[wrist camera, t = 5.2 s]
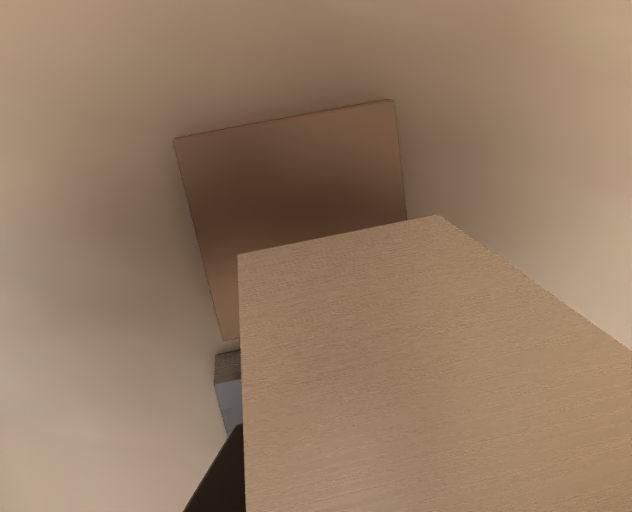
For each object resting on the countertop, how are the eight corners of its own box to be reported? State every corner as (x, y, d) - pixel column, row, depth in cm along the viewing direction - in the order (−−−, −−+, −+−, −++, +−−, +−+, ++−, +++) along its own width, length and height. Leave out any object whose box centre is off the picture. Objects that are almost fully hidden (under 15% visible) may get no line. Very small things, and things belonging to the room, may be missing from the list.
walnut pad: (409, 291, 20) (416, 299, 20) (223, 331, 20) (223, 341, 19) (386, 99, 18) (393, 100, 17) (175, 138, 17) (172, 140, 17)
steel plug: (453, 385, 12) (962, 1116, 4) (276, 425, 12) (389, 1332, 3) (438, 214, 11) (1201, 756, 2) (237, 254, 10) (262, 1064, 2)
